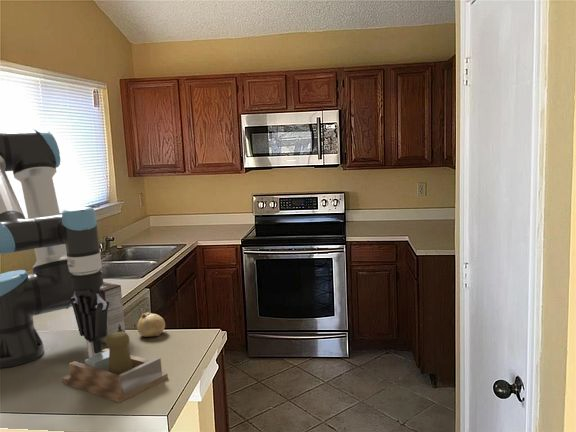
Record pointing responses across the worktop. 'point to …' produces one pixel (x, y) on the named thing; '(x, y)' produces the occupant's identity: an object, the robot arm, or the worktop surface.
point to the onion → (150, 325)
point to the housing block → (99, 361)
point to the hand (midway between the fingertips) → (96, 364)
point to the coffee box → (113, 308)
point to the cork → (118, 353)
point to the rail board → (116, 378)
